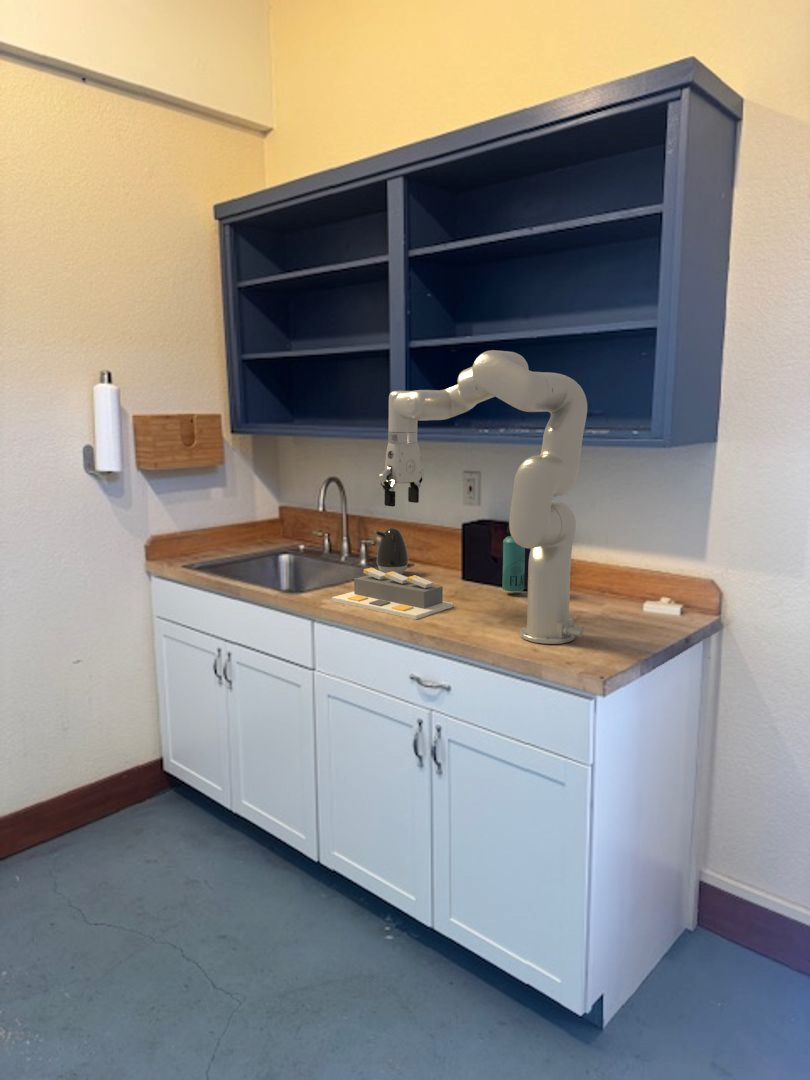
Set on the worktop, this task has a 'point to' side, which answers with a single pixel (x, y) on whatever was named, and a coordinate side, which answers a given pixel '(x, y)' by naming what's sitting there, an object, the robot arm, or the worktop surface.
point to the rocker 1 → (374, 573)
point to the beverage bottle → (513, 565)
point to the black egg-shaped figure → (392, 552)
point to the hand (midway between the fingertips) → (401, 504)
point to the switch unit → (395, 597)
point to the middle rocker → (396, 577)
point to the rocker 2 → (420, 581)
